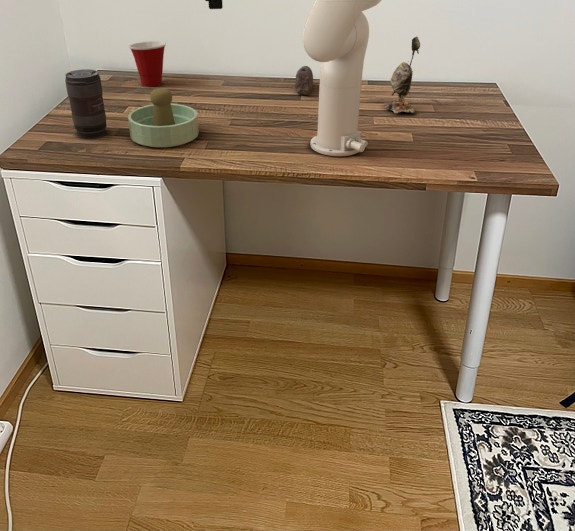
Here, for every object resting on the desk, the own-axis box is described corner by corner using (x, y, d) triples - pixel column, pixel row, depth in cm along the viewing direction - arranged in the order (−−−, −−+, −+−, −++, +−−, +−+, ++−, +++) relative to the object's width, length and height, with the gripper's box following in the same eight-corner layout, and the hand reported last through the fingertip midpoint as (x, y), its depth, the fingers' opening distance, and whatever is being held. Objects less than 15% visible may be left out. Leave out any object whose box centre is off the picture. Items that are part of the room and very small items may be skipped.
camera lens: (106, 126, 159) (97, 67, 151) (110, 137, 153) (101, 76, 145) (73, 129, 157) (62, 69, 149) (76, 141, 151) (65, 79, 142)
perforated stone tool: (298, 82, 193) (298, 59, 189) (314, 83, 193) (315, 60, 189) (293, 97, 181) (293, 73, 177) (311, 98, 180) (312, 74, 176)
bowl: (212, 137, 154) (210, 116, 151) (153, 155, 144) (151, 132, 141) (174, 119, 164) (173, 99, 161) (118, 134, 155) (115, 113, 152)
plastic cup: (158, 76, 196) (154, 37, 190) (176, 84, 189) (172, 44, 183) (126, 82, 190) (121, 42, 184) (144, 91, 183) (139, 49, 177)
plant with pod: (410, 102, 179) (419, 29, 168) (416, 116, 169) (426, 40, 158) (382, 102, 179) (389, 29, 168) (386, 115, 169) (394, 39, 158)
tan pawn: (179, 129, 156) (176, 86, 150) (173, 138, 151) (169, 94, 145) (156, 128, 157) (151, 85, 151) (149, 137, 152) (144, 93, 146)
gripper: (231, -73, 134) (233, 11, 144) (221, -80, 149) (224, -3, 158) (196, -73, 133) (201, 12, 142) (190, -80, 147) (194, -2, 157)
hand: (213, 4), depth 150 cm, fingers open, 9 cm apart
